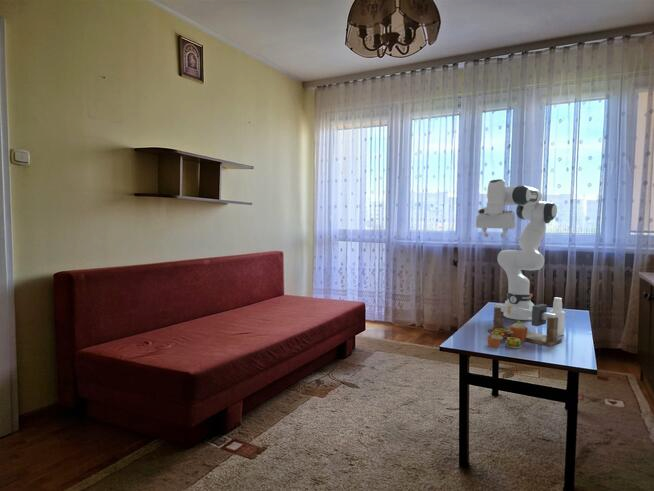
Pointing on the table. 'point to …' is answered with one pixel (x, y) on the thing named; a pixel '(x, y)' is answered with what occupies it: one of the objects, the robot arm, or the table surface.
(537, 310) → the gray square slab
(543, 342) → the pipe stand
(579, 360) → the table surface
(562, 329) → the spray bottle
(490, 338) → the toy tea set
